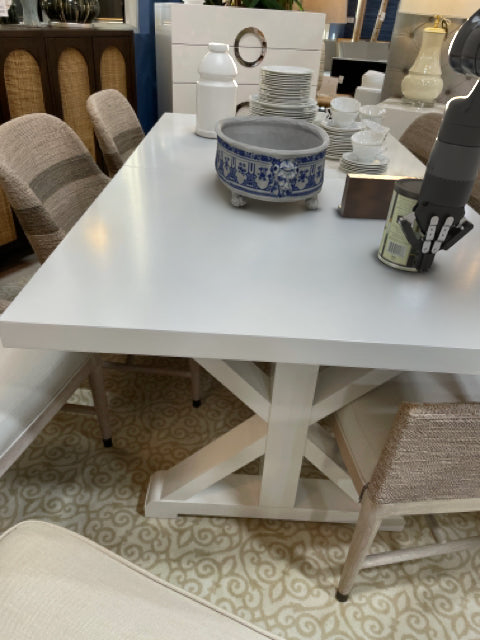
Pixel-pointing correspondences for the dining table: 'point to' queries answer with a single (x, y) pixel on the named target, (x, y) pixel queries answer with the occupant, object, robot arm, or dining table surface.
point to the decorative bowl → (271, 159)
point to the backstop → (367, 195)
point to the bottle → (215, 89)
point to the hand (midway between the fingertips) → (420, 269)
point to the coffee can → (393, 240)
